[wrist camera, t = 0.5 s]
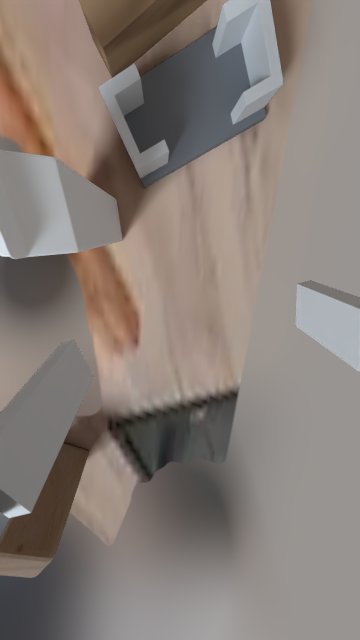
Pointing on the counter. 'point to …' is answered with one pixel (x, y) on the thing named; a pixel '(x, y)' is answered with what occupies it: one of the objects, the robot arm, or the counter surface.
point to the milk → (51, 208)
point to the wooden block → (43, 518)
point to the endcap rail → (198, 92)
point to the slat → (132, 26)
